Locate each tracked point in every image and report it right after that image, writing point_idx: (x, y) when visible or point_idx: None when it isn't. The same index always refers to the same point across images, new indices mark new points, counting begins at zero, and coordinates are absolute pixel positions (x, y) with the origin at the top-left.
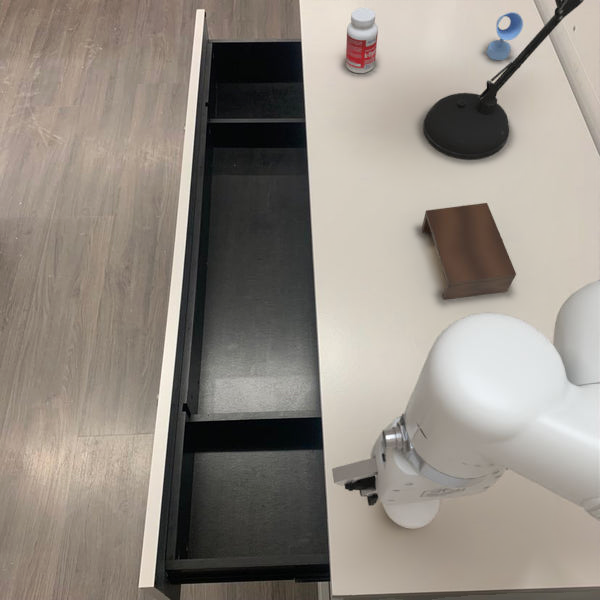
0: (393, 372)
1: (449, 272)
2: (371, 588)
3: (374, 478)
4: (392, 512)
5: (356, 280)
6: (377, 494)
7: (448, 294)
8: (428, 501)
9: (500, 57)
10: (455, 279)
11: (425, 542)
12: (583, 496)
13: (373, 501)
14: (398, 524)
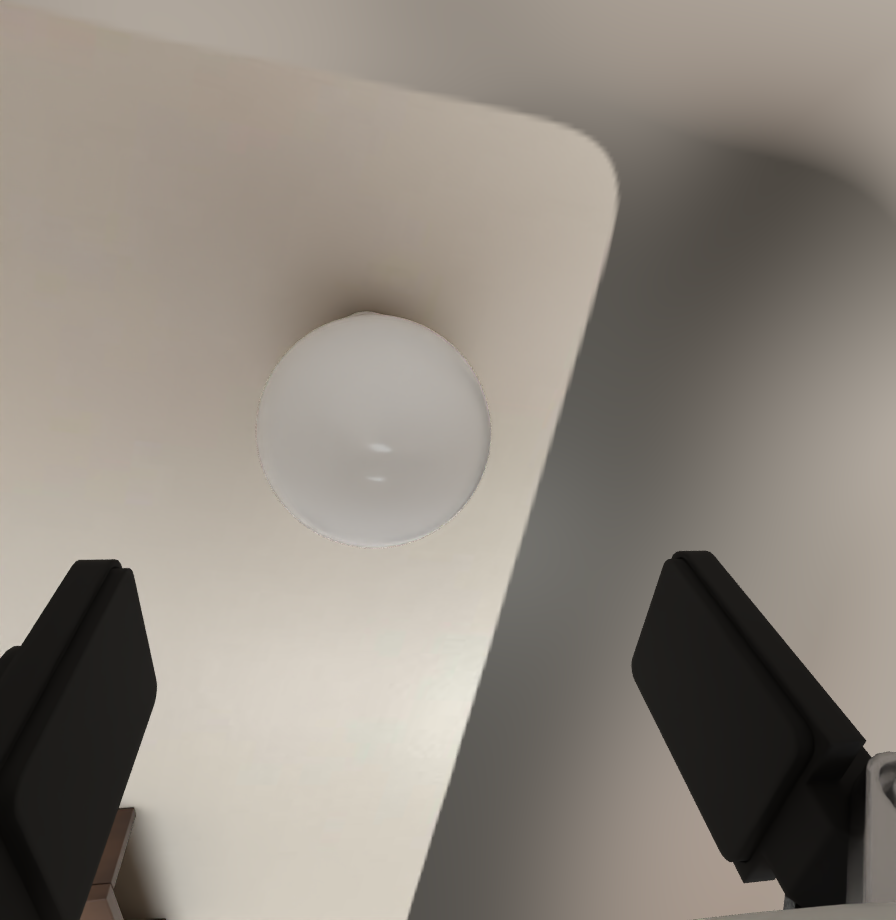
0: (304, 670)
1: (102, 917)
2: (532, 119)
3: (808, 864)
4: (479, 404)
5: (348, 837)
6: (807, 750)
7: (116, 833)
8: (323, 442)
9: None
10: (86, 905)
11: (313, 228)
12: None
13: (773, 646)
14: (450, 343)
